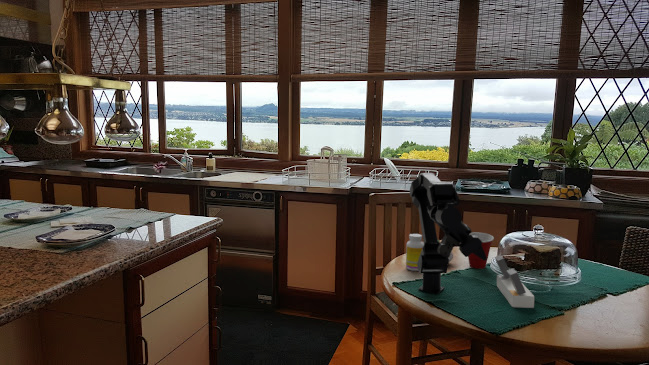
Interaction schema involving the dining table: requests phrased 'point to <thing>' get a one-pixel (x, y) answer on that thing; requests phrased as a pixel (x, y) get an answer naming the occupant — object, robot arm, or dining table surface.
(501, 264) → the lever grey tag
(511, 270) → the grey rectangular block
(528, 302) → the switch console
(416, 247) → the supplement bottle
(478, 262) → the plastic cup
